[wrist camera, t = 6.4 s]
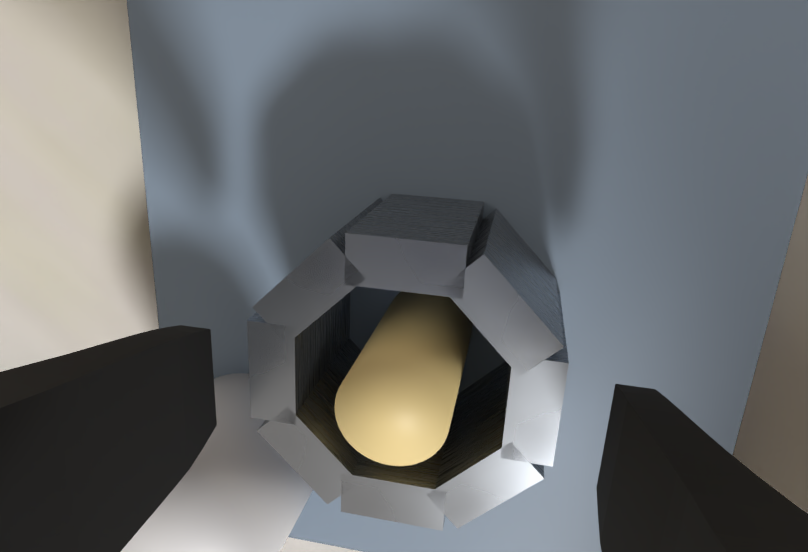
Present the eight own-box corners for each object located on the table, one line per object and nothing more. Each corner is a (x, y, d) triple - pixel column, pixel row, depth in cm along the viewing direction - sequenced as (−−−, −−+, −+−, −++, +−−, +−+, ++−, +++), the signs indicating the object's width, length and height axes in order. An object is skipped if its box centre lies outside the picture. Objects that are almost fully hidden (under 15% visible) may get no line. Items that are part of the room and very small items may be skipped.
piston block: (680, 583, 16) (741, 795, 11) (195, 492, 18) (80, 635, 14) (827, 6, 11) (1038, -44, 7) (152, -11, 14) (-44, -56, 9)
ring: (538, 440, 14) (539, 548, 11) (313, 405, 15) (254, 495, 12) (571, 209, 12) (585, 257, 9) (313, 186, 13) (242, 222, 10)
